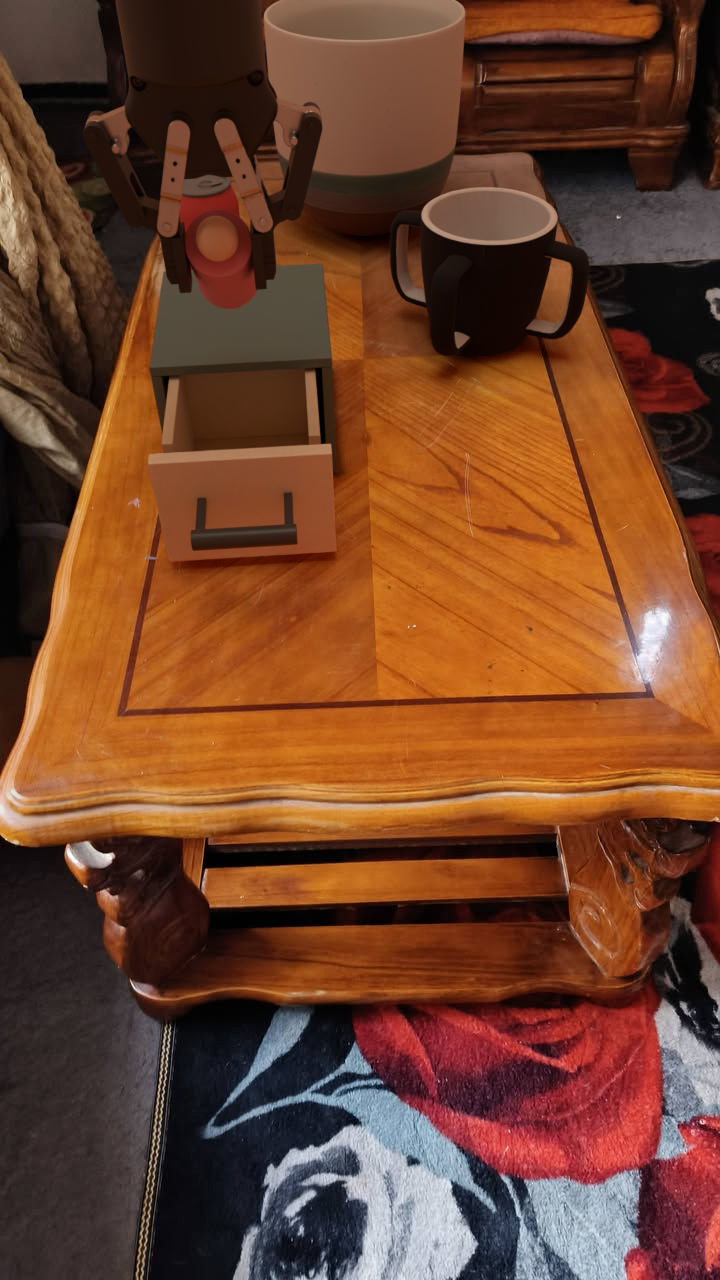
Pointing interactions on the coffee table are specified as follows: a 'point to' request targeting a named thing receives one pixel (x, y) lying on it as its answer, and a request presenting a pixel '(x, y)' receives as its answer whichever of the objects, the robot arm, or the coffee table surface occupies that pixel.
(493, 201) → the mug
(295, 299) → the cabinet
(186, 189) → the beer can
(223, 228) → the doll
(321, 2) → the planter
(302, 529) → the drawer
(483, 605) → the coffee table surface
